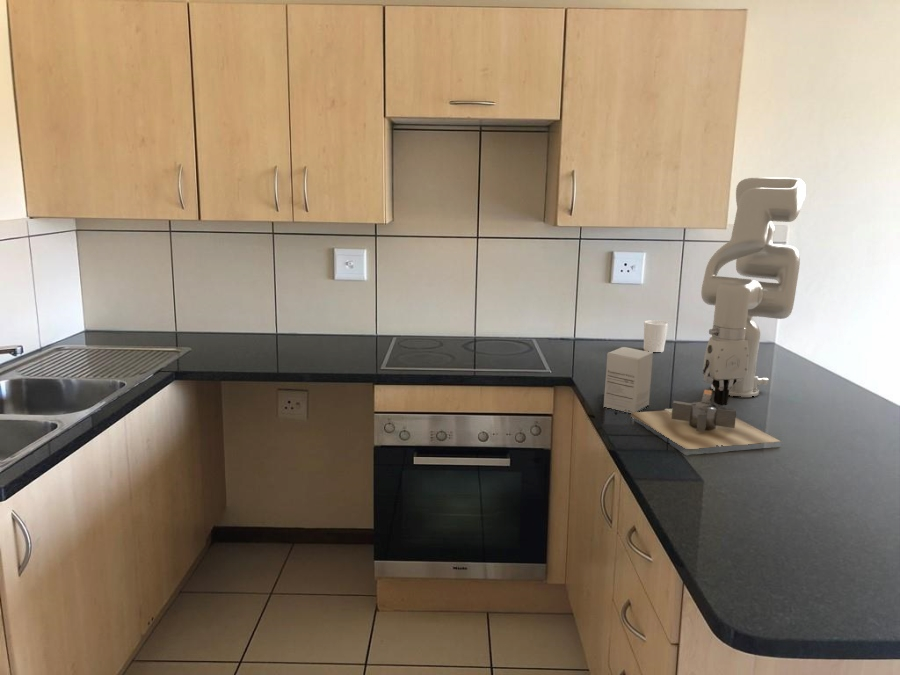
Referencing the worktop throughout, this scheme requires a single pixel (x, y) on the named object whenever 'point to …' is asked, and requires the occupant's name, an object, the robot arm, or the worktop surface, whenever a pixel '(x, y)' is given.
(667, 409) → the level window
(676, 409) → the capstan
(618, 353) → the supplement box
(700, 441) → the stand plate
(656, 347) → the white cup
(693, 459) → the worktop surface
